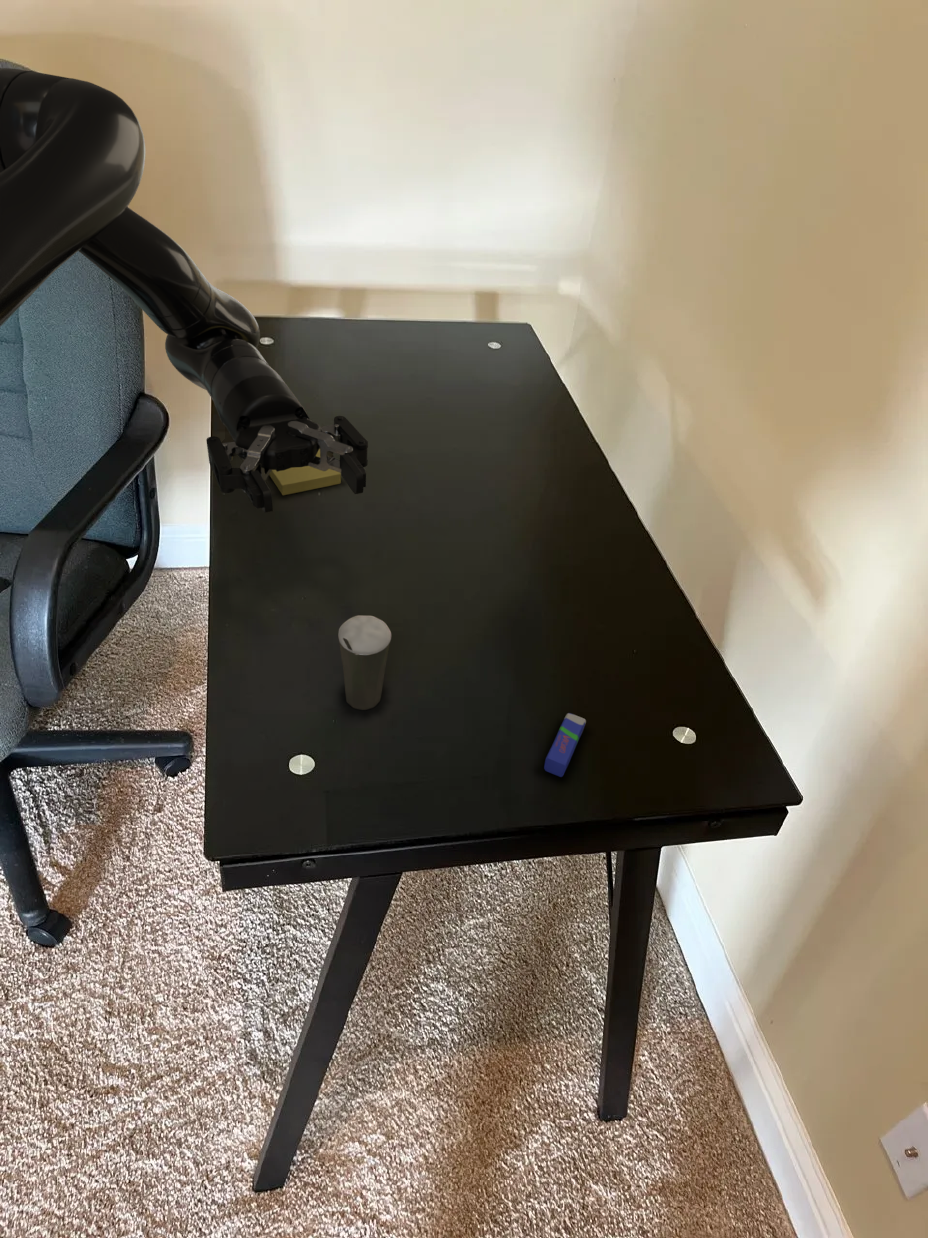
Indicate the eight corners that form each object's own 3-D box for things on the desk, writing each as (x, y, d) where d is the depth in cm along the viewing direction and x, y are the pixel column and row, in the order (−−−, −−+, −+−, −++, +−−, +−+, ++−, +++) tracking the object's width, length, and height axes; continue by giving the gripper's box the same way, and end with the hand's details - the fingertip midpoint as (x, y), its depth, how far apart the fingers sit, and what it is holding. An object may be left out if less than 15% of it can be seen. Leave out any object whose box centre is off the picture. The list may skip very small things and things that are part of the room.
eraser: (583, 733, 77) (587, 719, 75) (562, 779, 72) (566, 765, 71) (563, 725, 77) (567, 711, 76) (541, 771, 73) (545, 756, 71)
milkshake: (323, 708, 76) (321, 628, 69) (356, 673, 79) (357, 594, 73) (365, 729, 74) (367, 649, 68) (396, 692, 78) (402, 613, 71)
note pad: (282, 495, 100) (282, 485, 99) (261, 464, 105) (261, 453, 104) (341, 483, 103) (341, 473, 102) (318, 453, 108) (318, 443, 107)
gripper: (181, 384, 78) (232, 472, 68) (324, 364, 84) (390, 443, 74) (191, 453, 83) (240, 545, 73) (325, 430, 89) (387, 513, 79)
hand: (315, 494), depth 73 cm, fingers open, 8 cm apart
